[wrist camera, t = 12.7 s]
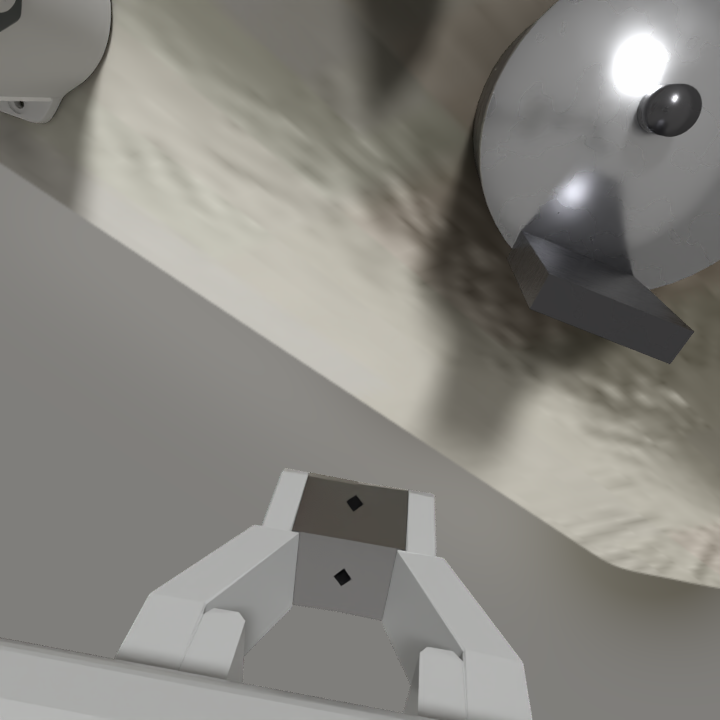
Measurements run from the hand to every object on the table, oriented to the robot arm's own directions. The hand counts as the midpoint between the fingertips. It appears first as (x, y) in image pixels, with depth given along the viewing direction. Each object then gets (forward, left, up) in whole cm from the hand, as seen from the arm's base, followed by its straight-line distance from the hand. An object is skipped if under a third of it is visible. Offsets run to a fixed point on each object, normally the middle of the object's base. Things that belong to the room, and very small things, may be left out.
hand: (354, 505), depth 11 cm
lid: (+13, +6, -29) cm, 32 cm away
